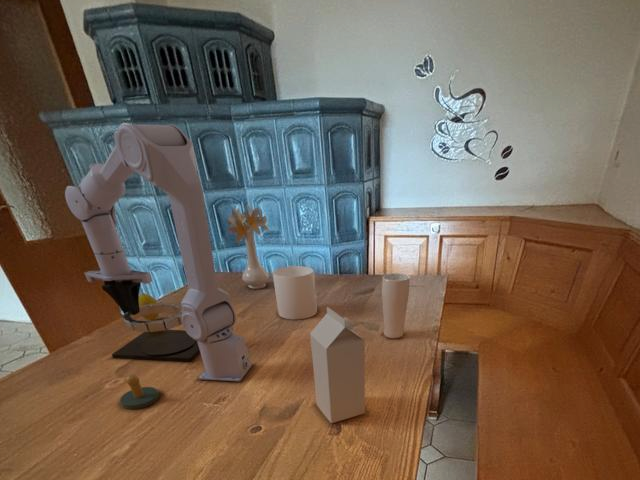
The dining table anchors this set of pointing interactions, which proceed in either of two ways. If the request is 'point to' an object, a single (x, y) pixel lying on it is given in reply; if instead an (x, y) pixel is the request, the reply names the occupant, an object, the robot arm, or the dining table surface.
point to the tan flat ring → (158, 324)
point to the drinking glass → (394, 303)
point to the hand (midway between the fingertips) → (132, 313)
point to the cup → (295, 292)
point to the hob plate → (160, 347)
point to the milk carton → (338, 367)
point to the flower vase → (250, 243)
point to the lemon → (147, 300)
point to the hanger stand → (138, 395)
